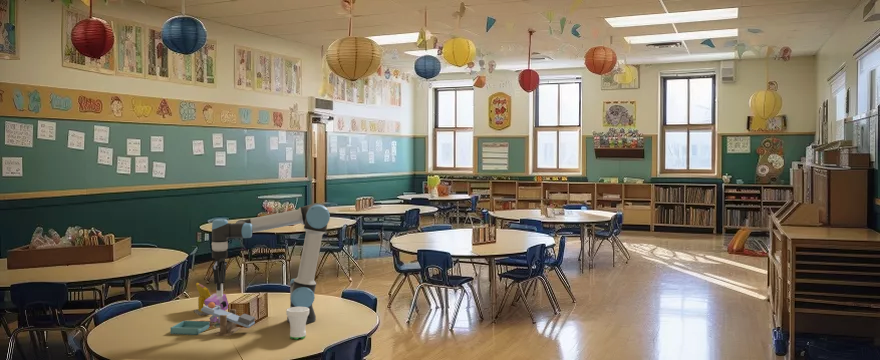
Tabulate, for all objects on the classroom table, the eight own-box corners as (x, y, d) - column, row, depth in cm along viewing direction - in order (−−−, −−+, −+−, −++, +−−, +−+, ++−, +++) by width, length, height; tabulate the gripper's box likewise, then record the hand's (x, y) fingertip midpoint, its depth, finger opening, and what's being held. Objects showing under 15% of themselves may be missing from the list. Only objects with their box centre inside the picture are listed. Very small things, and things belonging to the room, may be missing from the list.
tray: (209, 327, 354) (209, 321, 354) (197, 334, 340) (197, 328, 340) (183, 326, 356) (183, 320, 356) (170, 334, 342) (170, 327, 342)
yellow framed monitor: (215, 315, 380) (215, 287, 379) (201, 317, 375) (200, 288, 375) (205, 308, 396) (205, 281, 396) (191, 310, 392) (191, 282, 391)
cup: (298, 342, 329) (298, 313, 328) (281, 338, 335) (281, 310, 334) (314, 336, 338) (314, 308, 338) (297, 333, 344) (297, 305, 344)
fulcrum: (240, 328, 353) (240, 309, 352) (229, 336, 339) (229, 316, 338) (227, 328, 353) (227, 308, 353) (215, 335, 340) (215, 315, 339)
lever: (255, 323, 350) (257, 316, 350) (247, 328, 340) (249, 322, 339) (208, 306, 352) (210, 299, 352) (199, 311, 342) (201, 304, 341)
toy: (234, 318, 368) (227, 294, 364) (224, 326, 362) (217, 302, 357) (219, 317, 373) (212, 293, 368) (209, 325, 366) (202, 300, 362)
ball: (215, 308, 348) (217, 302, 348) (212, 310, 345) (214, 303, 344) (209, 307, 348) (210, 300, 348) (206, 308, 345) (207, 302, 345)
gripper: (218, 247, 351) (217, 293, 352) (206, 251, 338) (206, 298, 339) (232, 248, 351) (232, 293, 352) (221, 252, 338) (221, 299, 339)
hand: (219, 296), depth 346 cm, fingers closed
